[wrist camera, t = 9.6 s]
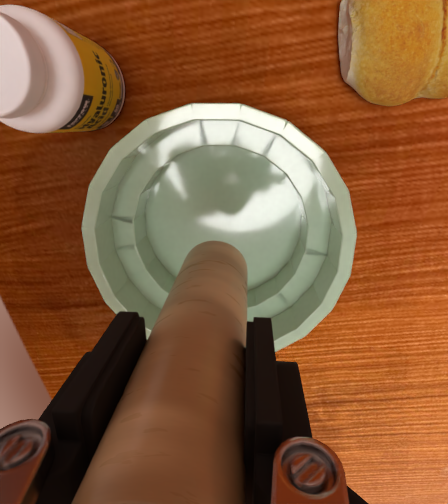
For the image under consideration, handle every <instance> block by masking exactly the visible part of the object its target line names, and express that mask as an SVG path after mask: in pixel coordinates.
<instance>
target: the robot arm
mask: <svg viewBox="0 0 448 504" xmlns="http://www.w3.org/2000/svg"><path fill="white" fill-rule="evenodd" d="M146 342H147V340H146V329H145V319H144V317H139V314H138V312H126V311H120V312H118V313H117V315H116V316H115V318H114V319H113V321H112V322H111V324H110V325H109V327H108V328H107V330H106V331H105V333H104V334H103V335H102V337H101V338H100V340H99V341H98V343H97V344H96V346H95V347H94V349H93V350H92V352H87V353H86V354H85V355H84V356H83V357H82V358H81V360H80V361H79V363H78V364H77V365H76V367H75V368H74V370H73V371H72V373H71V374H70V375H69V377H68V378H67V380H66V381H65V382H64V384H63V385H62V387H61V388H60V390H59V391H58V392H57V394H56V395H55V397H54V398H53V399H52V401H51V402H50V404H49V405H48V407H47V408H46V409H45V411H44V412H43V414H42V415H41V417H40V418H39V419H38V420H35V419H27V420H20V421H17V422H14V423H12V424H9V425H7V426H5V427H3V428H2V429H0V504H71V503H72V501H73V499H74V497H75V495H76V493H77V490H78V488H79V486H80V484H81V482H82V480H83V478H84V475H85V473H86V471H87V469H88V467H89V465H90V462H91V460H92V458H93V456H94V454H95V452H96V450H97V447H98V445H99V443H100V441H101V439H102V437H103V434H104V432H105V430H106V428H107V426H108V424H109V422H110V419H111V417H112V415H113V413H114V411H115V409H116V406H117V404H118V402H119V400H120V398H121V396H122V394H123V391H124V389H125V387H126V385H127V383H128V381H129V378H130V376H131V374H132V372H133V370H134V368H135V366H136V363H137V361H138V359H139V357H140V355H141V353H142V350H143V348H144V346H145V344H146ZM244 464H245V469H246V504H368V503H367V502H366V501H365V500H363V499H362V498H361V497H360V496H359V495H357V494H356V493H355V492H354V491H353V490H351V489H350V488H349V487H348V486H347V485H346V478H345V472H344V469H343V466H342V463H341V461H340V460H339V458H338V457H337V455H336V453H335V452H334V451H332V450H331V449H330V448H329V447H328V446H327V445H325V444H324V443H322V442H320V441H318V440H316V439H313V438H312V433H311V428H310V423H309V418H308V413H307V408H306V403H305V398H304V393H303V388H302V383H301V378H300V373H299V368H298V364H297V362H283V361H276V357H275V348H274V339H273V330H272V321H271V318H265V317H254V319H253V322H250V321H247V327H246V362H245V427H244Z"/></svg>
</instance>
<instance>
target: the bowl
mask: <svg viewBox="0 0 448 504" xmlns="http://www.w3.org/2000/svg"><path fill="white" fill-rule="evenodd" d="M82 235H83V241H84V248H85V255H86V261H87V266H88V269H89V271H90V273H91V275H92V277H93V279H94V281H95V283H96V285H97V287H98V289H99V291H100V293H101V295H102V297H103V299H104V300H105V303H106V304H107V305H108V306H109V307H110V308H111V309H112V310H113V311H114V312H115V313H116V315H117V313H118V312H120V311H126V312H138V314H139V317H144V319H145V329H146V340H148V338H149V335H150V333H151V331H152V329H153V327H154V325H155V322H156V320H157V318H158V316H159V314H160V312H161V310H162V307H163V305H164V303H165V301H166V299H167V297H168V294H169V292H170V290H171V288H172V286H173V284H174V282H175V279H176V277H177V275H178V273H179V271H180V269H181V266H182V264H183V262H184V260H185V258H186V256H187V254H188V253H189V251H190V250H191V249H192V248H194V247H195V246H196V245H198V244H200V243H202V242H206V241H222V242H226V243H228V244H230V245H232V246H234V247H235V248H236V249H238V250H239V251H240V253H241V254H242V255H243V257H244V259H245V261H246V264H247V270H248V283H247V321H250V322H253V319H254V317H265V318H271V321H272V330H273V339H274V348H275V352H276V351H278V350H280V349H282V348H284V347H286V346H288V345H290V344H292V343H294V342H295V341H297V340H299V339H301V338H303V337H304V336H306V335H307V334H308V333H309V332H310V331H311V330H312V329H313V328H314V327H315V326H316V325H317V324H318V323H319V322H320V321H321V320H322V319H323V318H324V317H326V316H327V315H328V314H329V313H330V312H331V311H332V309H333V308H334V306H335V304H336V302H337V300H338V298H339V296H340V294H341V292H342V290H343V289H344V287H345V285H346V283H347V281H348V279H349V277H350V274H351V270H352V263H353V257H354V250H355V244H356V238H357V230H356V225H355V220H354V214H353V209H352V204H351V199H350V193H349V190H348V188H347V186H346V185H345V183H344V181H343V180H342V178H341V176H340V175H339V173H338V171H337V170H336V168H335V166H334V164H333V163H332V161H331V159H330V158H329V156H328V154H327V153H326V152H325V151H324V149H322V148H321V147H320V146H319V145H317V144H316V143H315V142H314V141H313V140H311V139H310V138H309V137H308V136H307V135H305V134H304V133H303V132H302V131H301V130H299V129H298V128H297V127H296V126H294V125H293V124H292V123H291V122H290V121H287V120H286V119H283V118H281V117H278V116H275V115H272V114H270V113H267V112H264V111H261V110H259V109H256V108H253V107H250V106H248V105H245V104H241V103H189V104H187V105H184V106H181V107H178V108H175V109H173V110H170V111H167V112H164V113H161V114H158V115H156V116H153V117H150V118H147V119H146V120H144V121H143V122H141V123H140V124H139V125H138V126H137V127H135V128H134V129H133V130H132V131H131V132H129V133H128V134H127V135H126V136H125V137H123V138H122V139H121V140H120V141H119V142H117V143H116V144H115V145H114V146H113V147H111V149H110V150H109V151H108V153H107V155H106V157H105V158H104V160H103V162H102V164H101V165H100V167H99V169H98V171H97V172H96V174H95V176H94V177H93V179H92V181H91V183H90V184H89V187H88V193H87V198H86V204H85V209H84V215H83V220H82Z"/></svg>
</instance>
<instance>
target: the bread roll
mask: <svg viewBox="0 0 448 504" xmlns="http://www.w3.org/2000/svg"><path fill="white" fill-rule="evenodd" d="M338 45H339V56H340V67H341V74H342V77H343V79H344V82H346V83H347V84H348V85H350V86H351V87H352V88H353V89H354V90H355V91H356V92H357V93H358V94H359V95H360V96H361V97H362V98H364V99H365V100H367V101H368V102H371V103H374V104H378V105H383V106H396V105H401V104H404V103H407V102H409V101H410V100H412V99H414V98H420V97H424V98H437V99H442V98H447V97H448V0H342V1H341V3H340V12H339V29H338Z"/></svg>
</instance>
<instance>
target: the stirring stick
mask: <svg viewBox="0 0 448 504" xmlns="http://www.w3.org/2000/svg"><path fill="white" fill-rule="evenodd" d="M247 283H248V270H247V264H246V261H245V259H244V257H243V255H242V254H241V253H240V251H239V250H238V249H236V248H235V247H234V246H232V245H230V244H228V243H226V242H222V241H206V242H202V243H200V244H198V245H196V246H195V247H194V248H192V249H191V250H190V251H189V253H188V254H187V256H186V258H185V260H184V262H183V264H182V266H181V269H180V271H179V273H178V275H177V277H176V279H175V282H174V284H173V286H172V288H171V290H170V292H169V294H168V297H167V299H166V301H165V303H164V305H163V307H162V310H161V312H160V314H159V316H158V318H157V320H156V322H155V325H154V327H153V329H152V331H151V333H150V335H149V338H148V340H147V342H146V344H145V346H144V348H143V350H142V353H141V355H140V357H139V359H138V361H137V363H136V366H135V368H134V370H133V372H132V374H131V376H130V378H129V381H128V383H127V385H126V387H125V389H124V391H123V394H122V396H121V398H120V400H119V402H118V404H117V406H116V409H115V411H114V413H113V415H112V417H111V419H110V422H109V424H108V426H107V428H106V430H105V432H104V434H103V437H102V439H101V441H100V443H99V445H98V447H97V450H96V452H95V454H94V456H93V458H92V460H91V462H90V465H89V467H88V469H87V471H86V473H85V475H84V478H83V480H82V482H81V484H80V486H79V488H78V490H77V493H76V495H75V497H74V499H73V501H72V503H71V504H246V469H245V464H244V427H245V362H246V327H247Z"/></svg>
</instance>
